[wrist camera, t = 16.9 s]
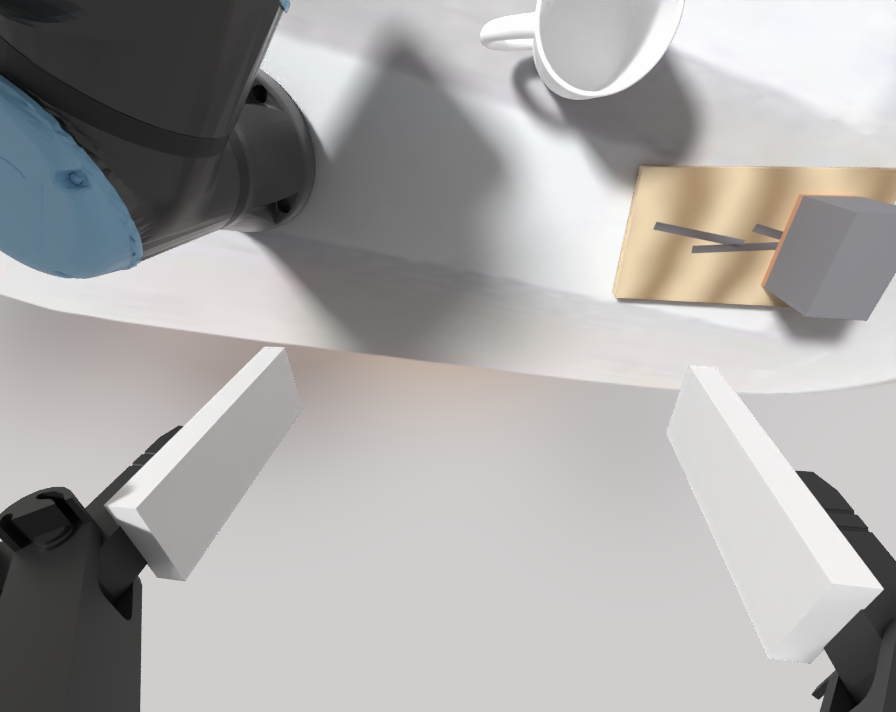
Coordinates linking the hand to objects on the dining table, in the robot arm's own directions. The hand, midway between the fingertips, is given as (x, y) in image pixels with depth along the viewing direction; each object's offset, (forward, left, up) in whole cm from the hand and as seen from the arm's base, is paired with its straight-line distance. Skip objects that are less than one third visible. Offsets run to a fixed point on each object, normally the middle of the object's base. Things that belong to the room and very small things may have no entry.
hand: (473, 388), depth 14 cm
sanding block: (+26, -2, -29) cm, 39 cm away
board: (+22, -2, -31) cm, 37 cm away
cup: (+4, +13, -31) cm, 34 cm away
